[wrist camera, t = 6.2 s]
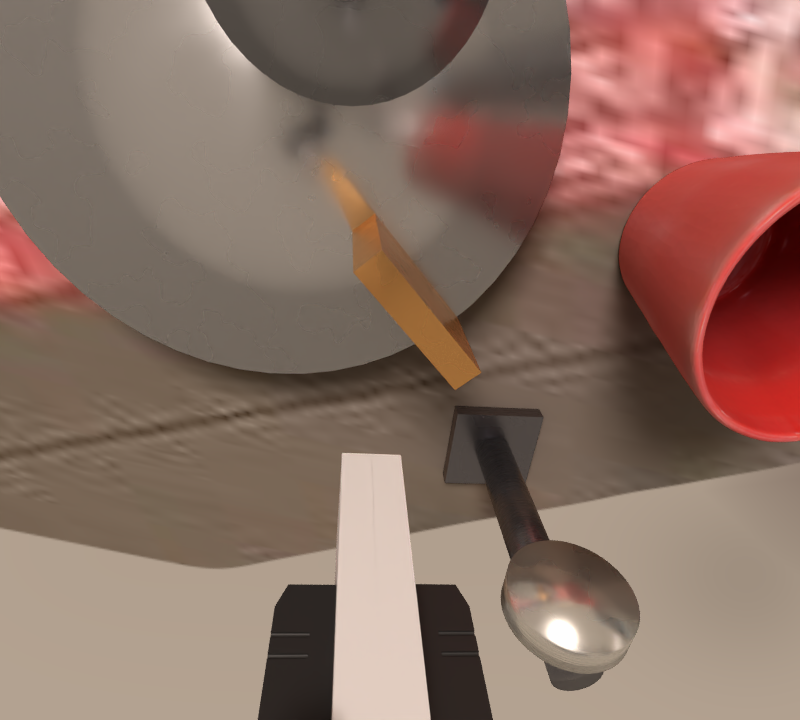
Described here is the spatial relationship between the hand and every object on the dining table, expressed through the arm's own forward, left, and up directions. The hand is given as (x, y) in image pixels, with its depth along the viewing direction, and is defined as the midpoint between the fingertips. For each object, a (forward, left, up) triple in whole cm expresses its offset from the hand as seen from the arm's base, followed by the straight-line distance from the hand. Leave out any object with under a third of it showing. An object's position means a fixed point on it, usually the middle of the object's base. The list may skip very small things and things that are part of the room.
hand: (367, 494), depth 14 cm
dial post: (-8, +9, -14) cm, 19 cm away
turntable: (+4, -8, -13) cm, 16 cm away
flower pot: (-16, -4, -15) cm, 22 cm away
